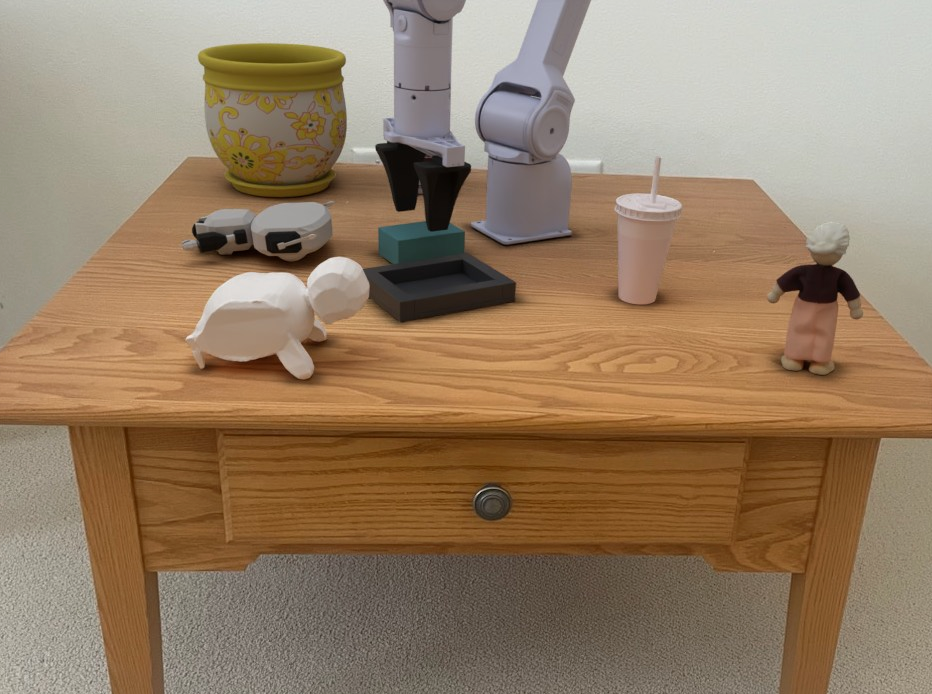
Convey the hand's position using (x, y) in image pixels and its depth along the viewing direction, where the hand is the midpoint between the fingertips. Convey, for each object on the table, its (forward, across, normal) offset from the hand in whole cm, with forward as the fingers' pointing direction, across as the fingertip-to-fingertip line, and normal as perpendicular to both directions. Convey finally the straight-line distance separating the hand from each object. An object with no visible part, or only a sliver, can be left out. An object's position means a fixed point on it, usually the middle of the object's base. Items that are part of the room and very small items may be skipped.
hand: (421, 219), depth 102 cm
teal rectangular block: (+4, 0, 0) cm, 4 cm away
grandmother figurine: (+4, +39, +17) cm, 43 cm away
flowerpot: (+4, -33, -4) cm, 33 cm away
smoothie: (+4, +20, +14) cm, 25 cm away
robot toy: (+4, -8, -15) cm, 17 cm away
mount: (+4, +11, -4) cm, 12 cm away
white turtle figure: (+4, +18, -22) cm, 29 cm away
